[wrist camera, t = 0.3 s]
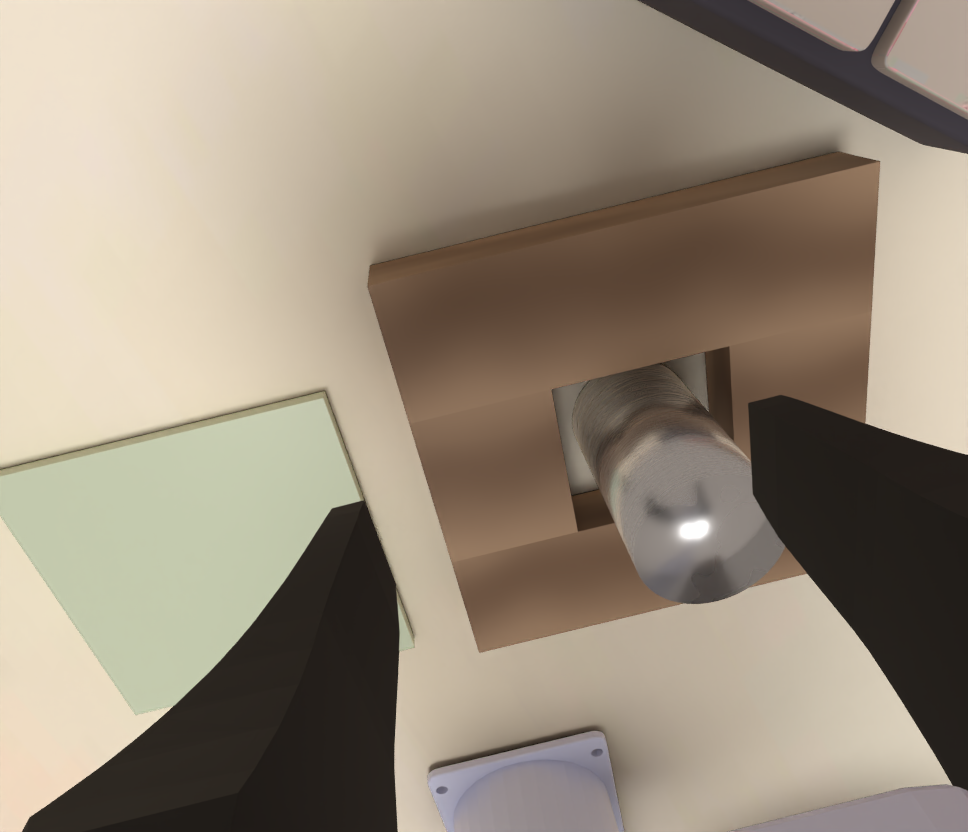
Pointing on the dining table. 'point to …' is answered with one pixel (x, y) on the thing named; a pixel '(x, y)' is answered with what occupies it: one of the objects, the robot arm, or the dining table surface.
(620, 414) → the metal peg
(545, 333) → the walnut holder
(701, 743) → the dining table surface
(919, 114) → the calculator
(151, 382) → the dining table surface
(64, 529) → the sage pad
